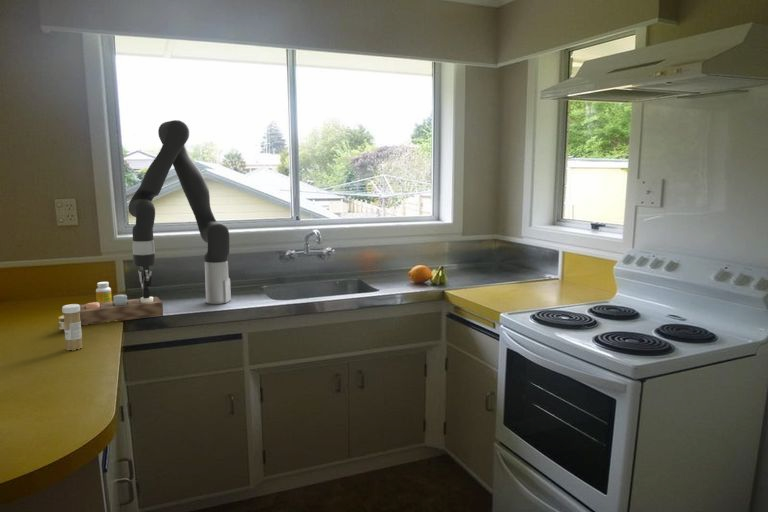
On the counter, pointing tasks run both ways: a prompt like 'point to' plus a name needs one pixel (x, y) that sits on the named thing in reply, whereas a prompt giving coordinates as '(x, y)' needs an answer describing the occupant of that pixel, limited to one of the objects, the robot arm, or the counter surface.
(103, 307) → the button panel
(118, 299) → the blue-grey egg
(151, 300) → the cream button
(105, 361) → the counter surface
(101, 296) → the supplement bottle
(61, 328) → the stacked layers on plate
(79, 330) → the sprinkles bottle
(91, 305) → the brown egg
